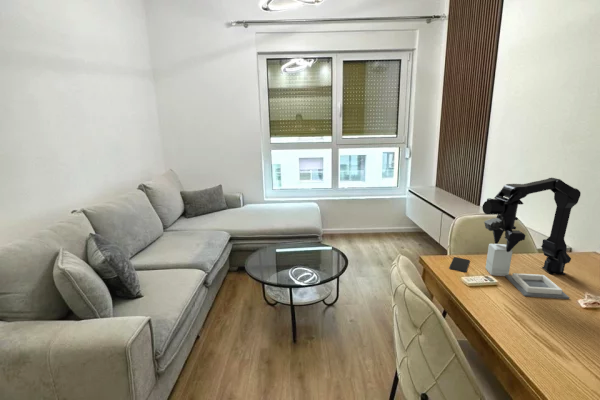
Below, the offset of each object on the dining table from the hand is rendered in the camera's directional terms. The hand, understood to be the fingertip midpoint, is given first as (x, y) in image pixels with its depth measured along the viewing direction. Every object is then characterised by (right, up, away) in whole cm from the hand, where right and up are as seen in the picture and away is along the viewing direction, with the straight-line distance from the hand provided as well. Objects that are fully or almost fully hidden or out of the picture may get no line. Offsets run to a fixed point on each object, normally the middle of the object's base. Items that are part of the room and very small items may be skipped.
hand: (501, 247), depth 140 cm
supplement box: (+1, -12, +5) cm, 13 cm away
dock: (+9, -15, -8) cm, 19 cm away
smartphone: (-12, -11, +13) cm, 21 cm away
